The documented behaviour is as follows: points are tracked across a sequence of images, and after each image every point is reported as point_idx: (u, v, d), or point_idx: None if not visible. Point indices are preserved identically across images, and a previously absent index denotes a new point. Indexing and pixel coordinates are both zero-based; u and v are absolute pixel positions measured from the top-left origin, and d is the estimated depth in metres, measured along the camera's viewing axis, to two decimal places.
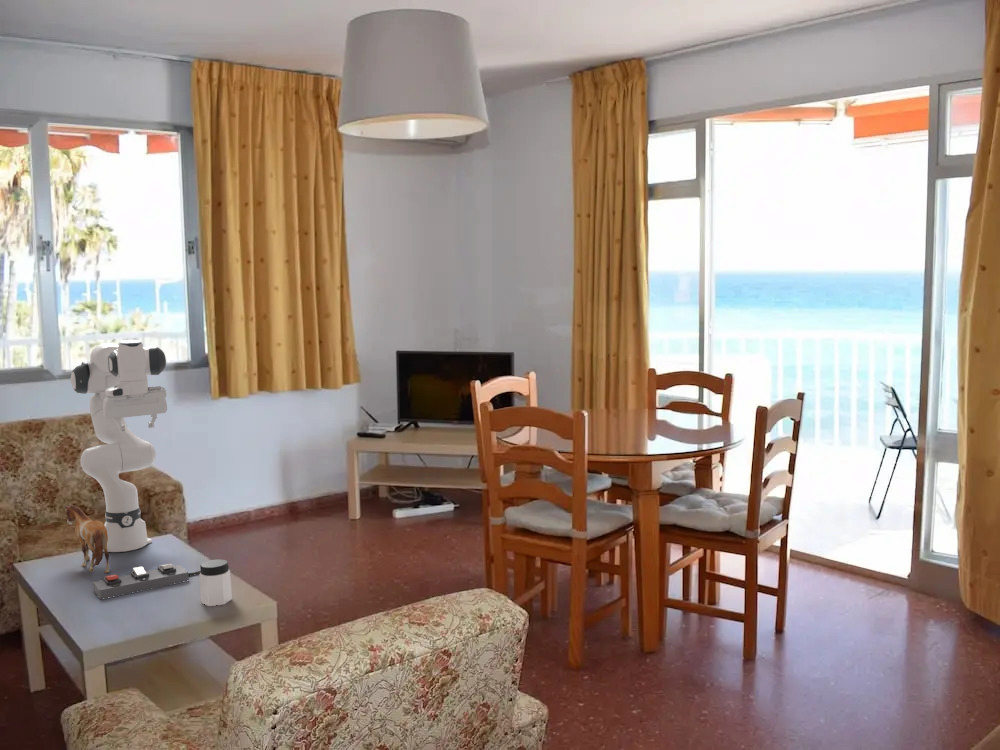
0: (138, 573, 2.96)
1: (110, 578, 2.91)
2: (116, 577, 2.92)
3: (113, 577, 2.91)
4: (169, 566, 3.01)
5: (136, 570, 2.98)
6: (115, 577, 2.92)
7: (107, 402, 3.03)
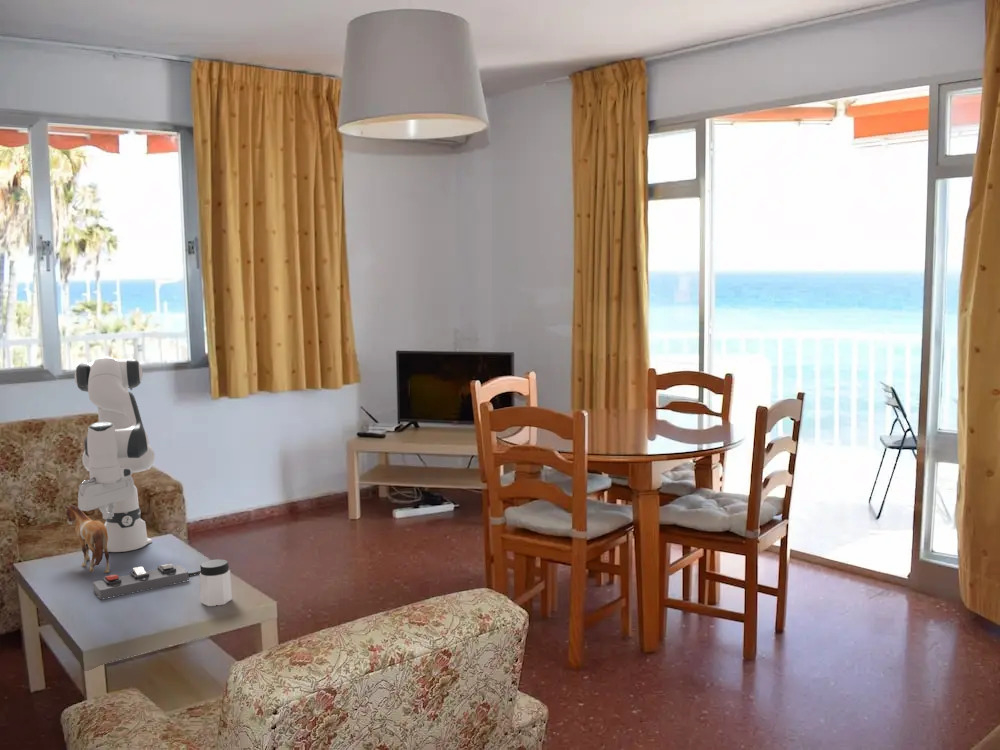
0: (138, 573, 2.96)
1: (110, 578, 2.91)
2: (116, 577, 2.92)
3: (113, 577, 2.91)
4: (169, 566, 3.01)
5: (136, 570, 2.98)
6: (115, 577, 2.92)
7: None
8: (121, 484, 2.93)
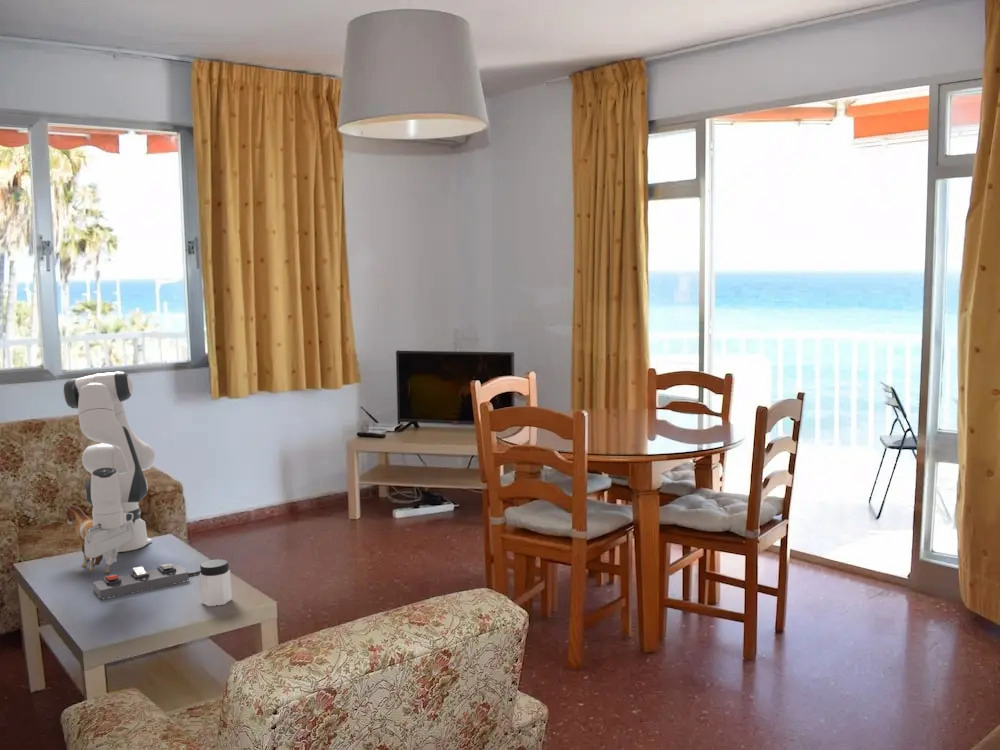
0: (138, 573, 2.96)
1: (110, 578, 2.91)
2: (116, 577, 2.92)
3: (113, 577, 2.91)
4: (169, 566, 3.01)
5: (136, 570, 2.98)
6: (115, 577, 2.92)
7: None
8: (123, 529, 2.95)
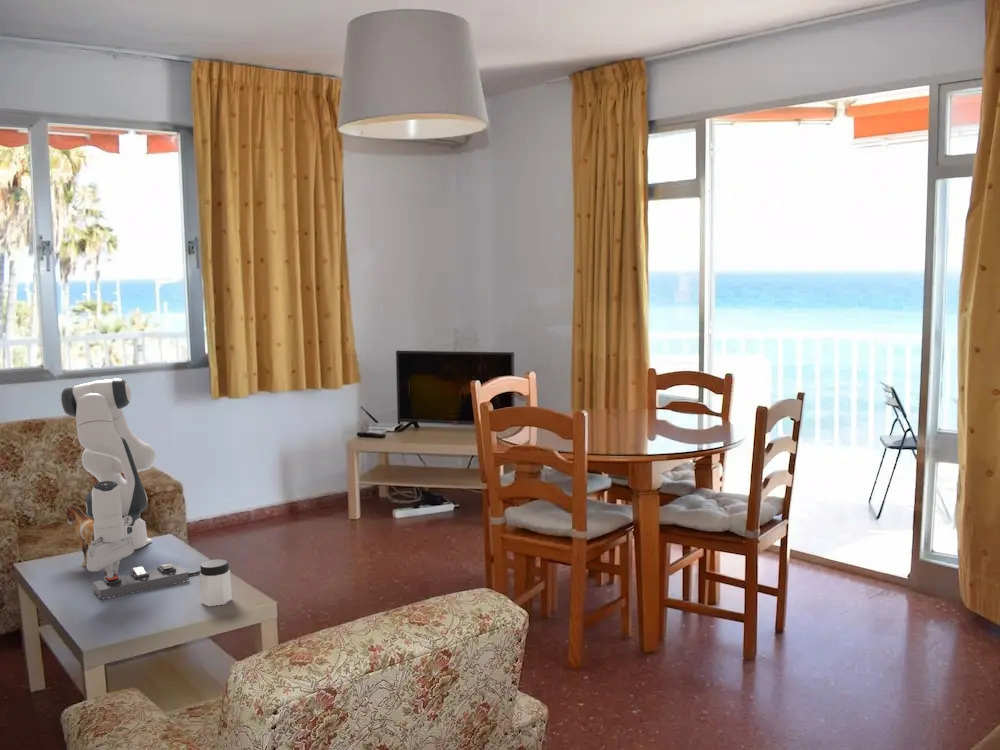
0: (138, 573, 2.96)
1: (110, 578, 2.91)
2: (116, 577, 2.92)
3: (113, 577, 2.91)
4: (169, 566, 3.01)
5: (136, 570, 2.98)
6: (115, 577, 2.92)
7: None
8: (123, 542, 2.95)
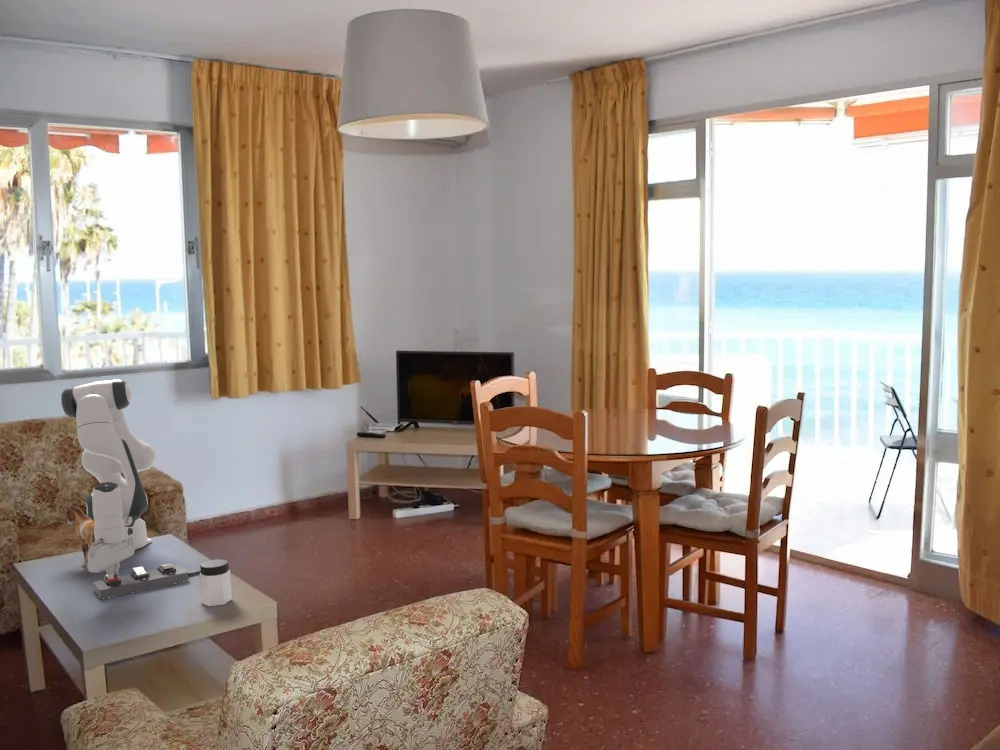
0: (138, 573, 2.96)
1: (110, 580, 2.91)
2: (116, 579, 2.92)
3: (113, 579, 2.91)
4: (169, 566, 3.01)
5: (136, 570, 2.98)
6: (115, 579, 2.92)
7: None
8: (124, 543, 2.95)
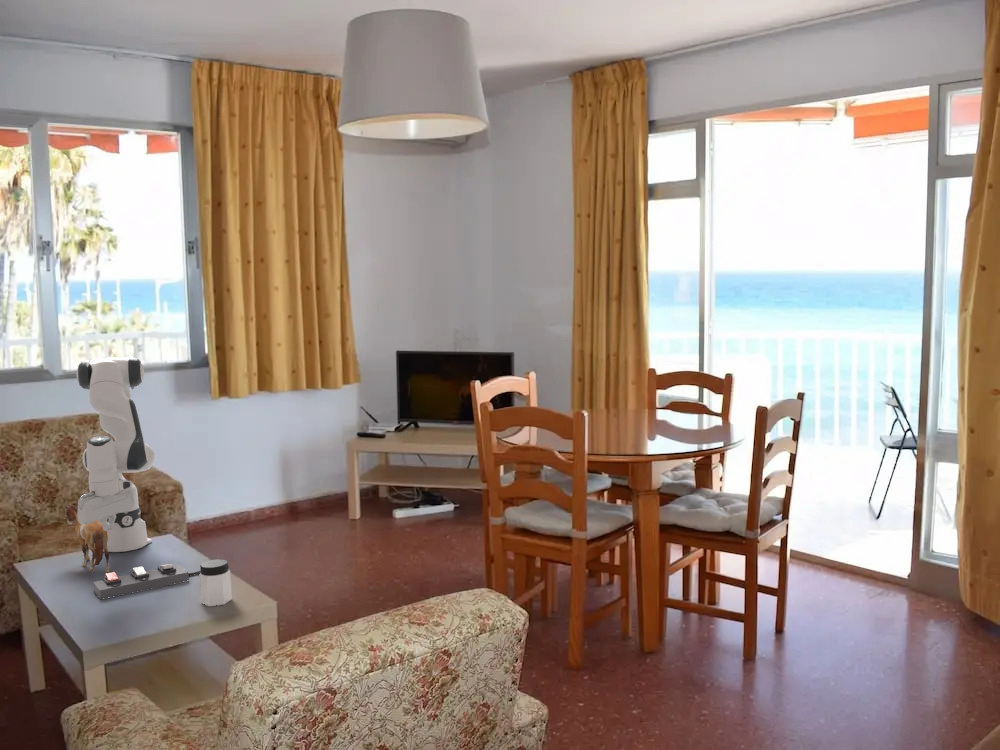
0: (138, 573, 2.96)
1: (110, 581, 2.91)
2: None
3: (113, 580, 2.91)
4: (169, 566, 3.01)
5: (136, 570, 2.98)
6: (115, 580, 2.92)
7: None
8: (121, 496, 2.98)
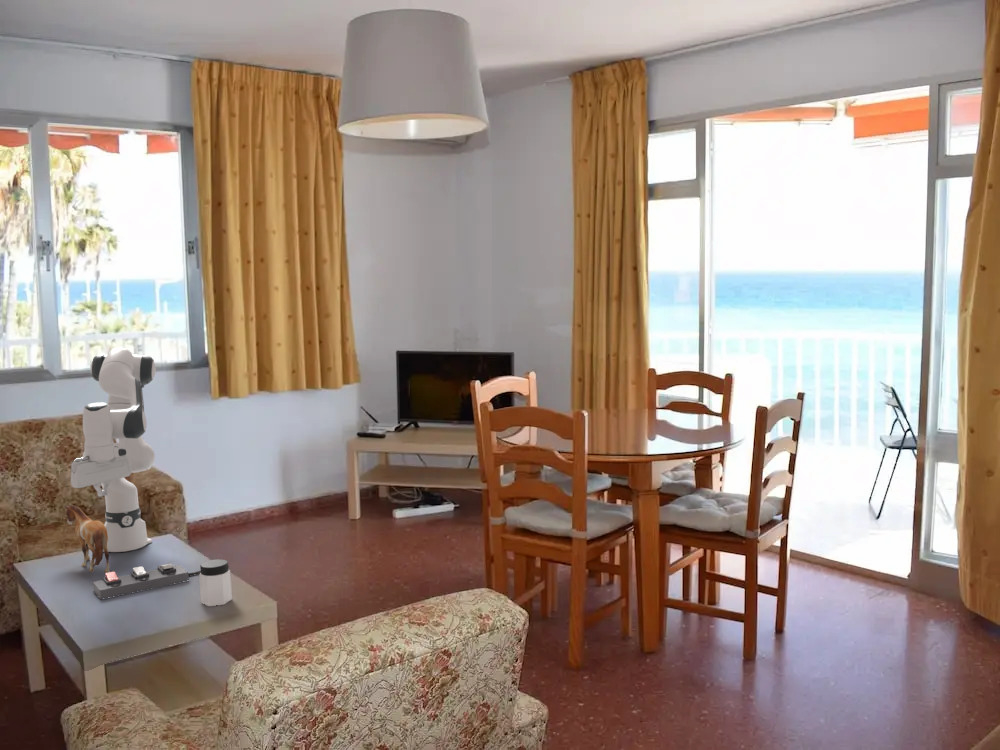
0: (138, 573, 2.96)
1: None
2: None
3: None
4: (169, 566, 3.01)
5: (136, 570, 2.98)
6: None
7: None
8: (117, 463, 3.00)
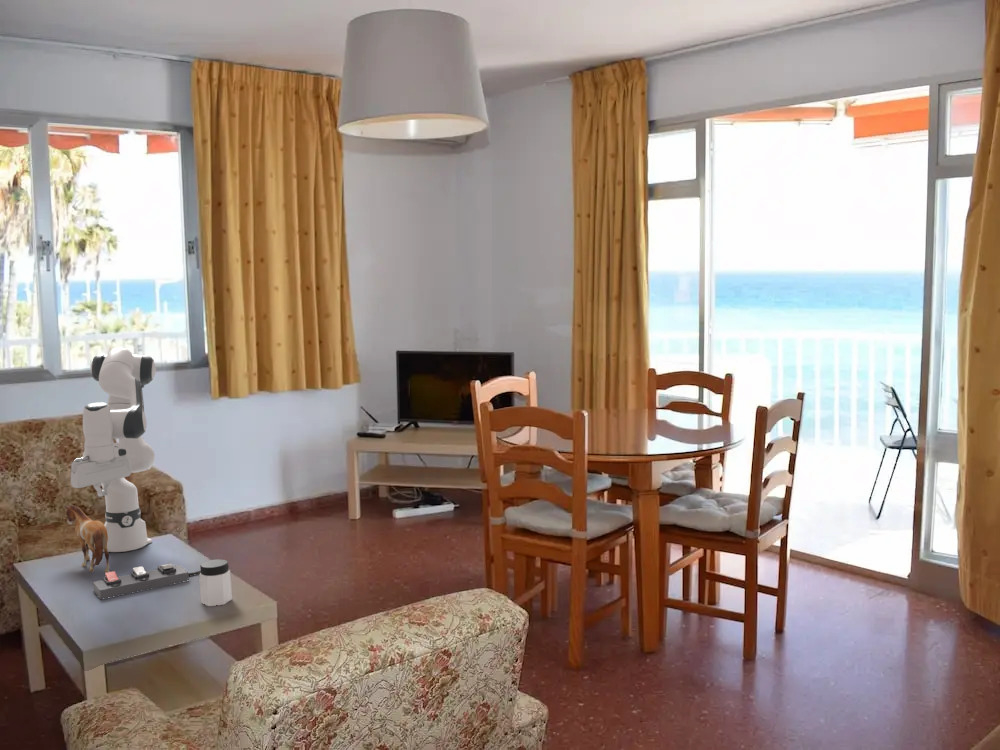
0: (138, 573, 2.96)
1: None
2: None
3: None
4: (169, 566, 3.01)
5: (136, 570, 2.98)
6: None
7: None
8: (117, 463, 3.00)
